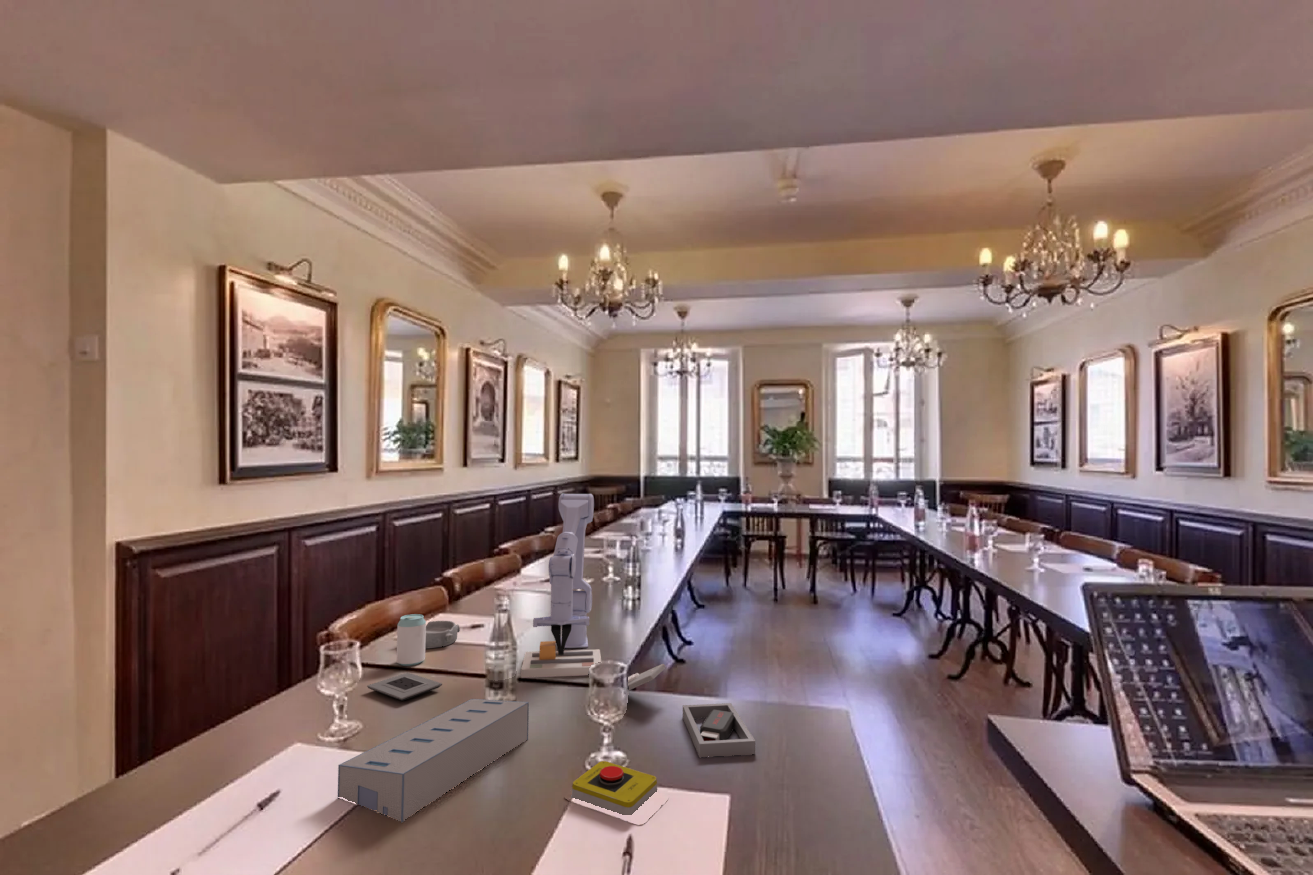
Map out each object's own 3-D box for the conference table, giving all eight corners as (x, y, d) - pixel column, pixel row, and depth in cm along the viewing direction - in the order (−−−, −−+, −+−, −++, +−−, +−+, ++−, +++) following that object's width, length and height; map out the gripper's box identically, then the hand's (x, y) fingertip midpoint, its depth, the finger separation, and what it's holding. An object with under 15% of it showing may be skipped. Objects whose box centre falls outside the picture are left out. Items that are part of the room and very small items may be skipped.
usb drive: (736, 723, 124) (736, 710, 125) (721, 749, 113) (721, 734, 113) (711, 719, 126) (711, 706, 126) (695, 744, 115) (695, 730, 115)
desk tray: (682, 717, 128) (682, 705, 128) (730, 715, 129) (730, 703, 129) (699, 757, 110) (699, 744, 111) (755, 754, 112) (755, 740, 112)
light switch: (611, 682, 143) (662, 659, 139) (622, 706, 142) (673, 684, 138) (595, 695, 135) (648, 671, 131) (606, 720, 134) (660, 697, 130)
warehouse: (471, 726, 123) (472, 689, 124) (528, 741, 117) (528, 702, 117) (337, 801, 96) (338, 752, 97) (401, 825, 90) (403, 774, 90)
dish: (397, 649, 172) (397, 631, 172) (423, 635, 186) (423, 618, 186) (444, 652, 170) (444, 634, 170) (467, 637, 183) (467, 621, 184)
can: (418, 666, 157) (419, 620, 158) (391, 666, 157) (392, 620, 158) (429, 658, 164) (430, 613, 165) (403, 657, 164) (404, 613, 165)
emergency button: (595, 750, 105) (671, 772, 98) (594, 775, 105) (671, 800, 98) (561, 773, 97) (642, 800, 90) (561, 801, 97) (641, 830, 89)
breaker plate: (525, 659, 164) (525, 648, 164) (599, 656, 166) (599, 646, 167) (521, 677, 150) (521, 666, 150) (601, 674, 153) (602, 663, 153)
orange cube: (540, 656, 159) (540, 641, 160) (555, 656, 160) (555, 641, 160) (539, 662, 155) (539, 646, 156) (555, 661, 156) (555, 645, 156)
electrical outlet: (441, 692, 141) (442, 682, 141) (401, 707, 132) (401, 696, 132) (407, 681, 148) (407, 671, 148) (366, 694, 140) (367, 684, 140)
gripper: (532, 605, 154) (531, 659, 153) (589, 604, 156) (589, 657, 155) (534, 599, 161) (533, 650, 160) (589, 598, 163) (588, 649, 162)
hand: (560, 653), depth 158 cm, fingers closed
